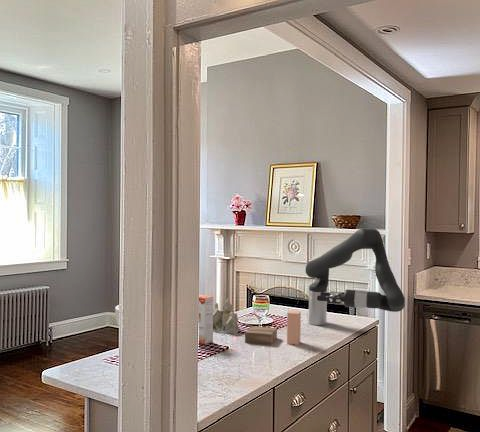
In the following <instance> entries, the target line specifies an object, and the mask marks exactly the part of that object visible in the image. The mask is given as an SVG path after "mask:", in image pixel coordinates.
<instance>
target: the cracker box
mask: <svg viewBox="0 0 480 432" xmlns="http://www.w3.org/2000/svg"><path fill="white" fill-rule="evenodd" d="M213 310H214V297H213V296H210V295H206V294H205V295H204V294H199V343H198V344H201V345H204V344H205V345H207V344H211V343H213V342H214V332H213Z"/></svg>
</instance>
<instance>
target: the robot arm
mask: <svg viewBox="0 0 480 432" xmlns="http://www.w3.org/2000/svg"><path fill="white" fill-rule="evenodd" d="M359 250H372V252H373V254H374V256H375V267H374V272H375V277H376V280H377V282H378V284H379V286H380V289H381V290H382V291H383V292H384V294H382V293H380V292H378V291H366V290H359V289H345V291H344V292H342V291H330V292H328V286H329V276H330V269H333V268H336V267H340V266H342V265H344V264H346V263H347V262H349V261H350V260H351V259H352V258H353V254H354V253H355V252H357V251H359ZM305 274H306V275H307V277H309V278H312V279H315V281H314V282H313V283H311V284H310V285H309V287H308V324H310V325H312V326H313V325H314V326H325V325H326V324H327V314H328V313H327V312H328V311H327V307H328V306H327V305H328V304H341V303H344V307H345V308H356V309H357V308H359V309H378V310H382V311H387V312H390V313H391V312H394V313H396V312H397V313H398V312H401V311H402V310H403V309H405V306H406V298H405V295H404V292H403V291H402V289H401V288H400V286H399V285H398V282H397V280H396V277H395V275H394V273H393V270H392V268H391V266H390V263H389V261H388V256H387V251H386V249H385V246H384V241H383V237H382V235H381V232H380V231H379V230H378V229H375V228H360V229H358V230H356V231H355V232H354V233H352V235H350V236H348V238H347V239H345V240H344V241H342V242H340V243H339V244H337V245H335V246H333V248H331V249H329V250H328V251H326V252H325V253H323V254H322V255H321V256H318V257H317V258H314V259H312V260H310V261H308V262H307V263H306V265H305Z"/></svg>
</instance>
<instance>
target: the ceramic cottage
mask: <svg viewBox="0 0 480 432" xmlns="http://www.w3.org/2000/svg"><path fill="white" fill-rule="evenodd" d="M233 305H234V304H233V303H231V301H230V299H229V298H227V299H226V301H225V303H223V304H222V310H219V303H218V302H214V305H213V333H218V334H219V333H220V334H224V335H226V334H227V335H228V334H237V333H239V331H240V326H239V325H238V323H239V318H238V313H237V312H236V313H235V312H234V307H233Z"/></svg>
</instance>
